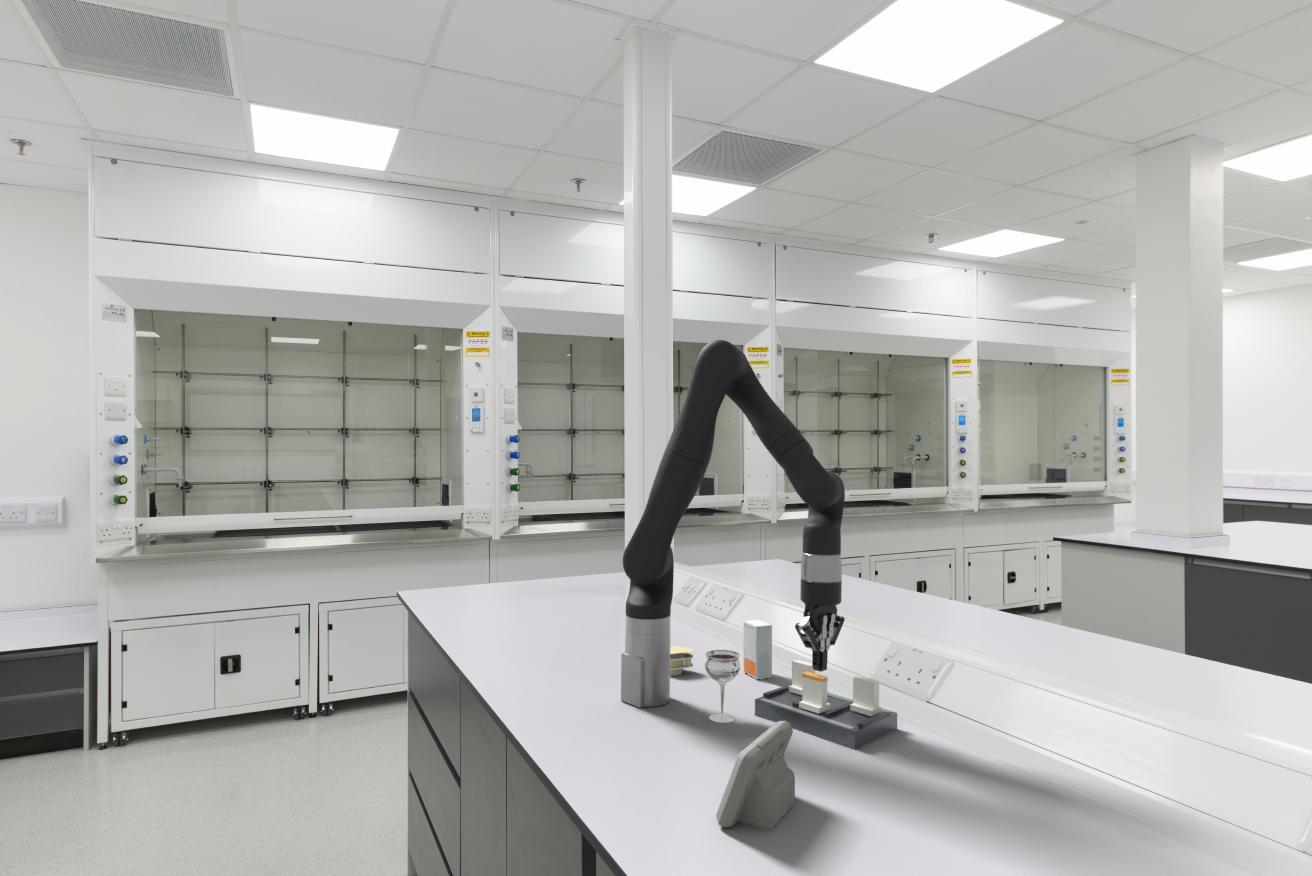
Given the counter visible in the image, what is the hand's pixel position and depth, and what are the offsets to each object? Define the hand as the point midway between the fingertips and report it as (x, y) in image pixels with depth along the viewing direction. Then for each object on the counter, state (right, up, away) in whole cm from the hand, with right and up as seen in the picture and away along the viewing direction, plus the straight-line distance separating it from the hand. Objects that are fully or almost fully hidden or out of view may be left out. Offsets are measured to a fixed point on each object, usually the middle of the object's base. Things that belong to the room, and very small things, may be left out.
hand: (819, 669), depth 135 cm
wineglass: (-18, -10, +2) cm, 21 cm away
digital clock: (-17, -9, -33) cm, 38 cm away
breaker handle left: (-2, -7, +8) cm, 11 cm away
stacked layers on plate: (-26, -11, +31) cm, 42 cm away
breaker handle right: (+8, -7, -3) cm, 11 cm away
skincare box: (-8, -11, +29) cm, 32 cm away
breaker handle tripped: (-1, -7, -1) cm, 7 cm away
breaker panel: (+1, -10, +1) cm, 10 cm away
